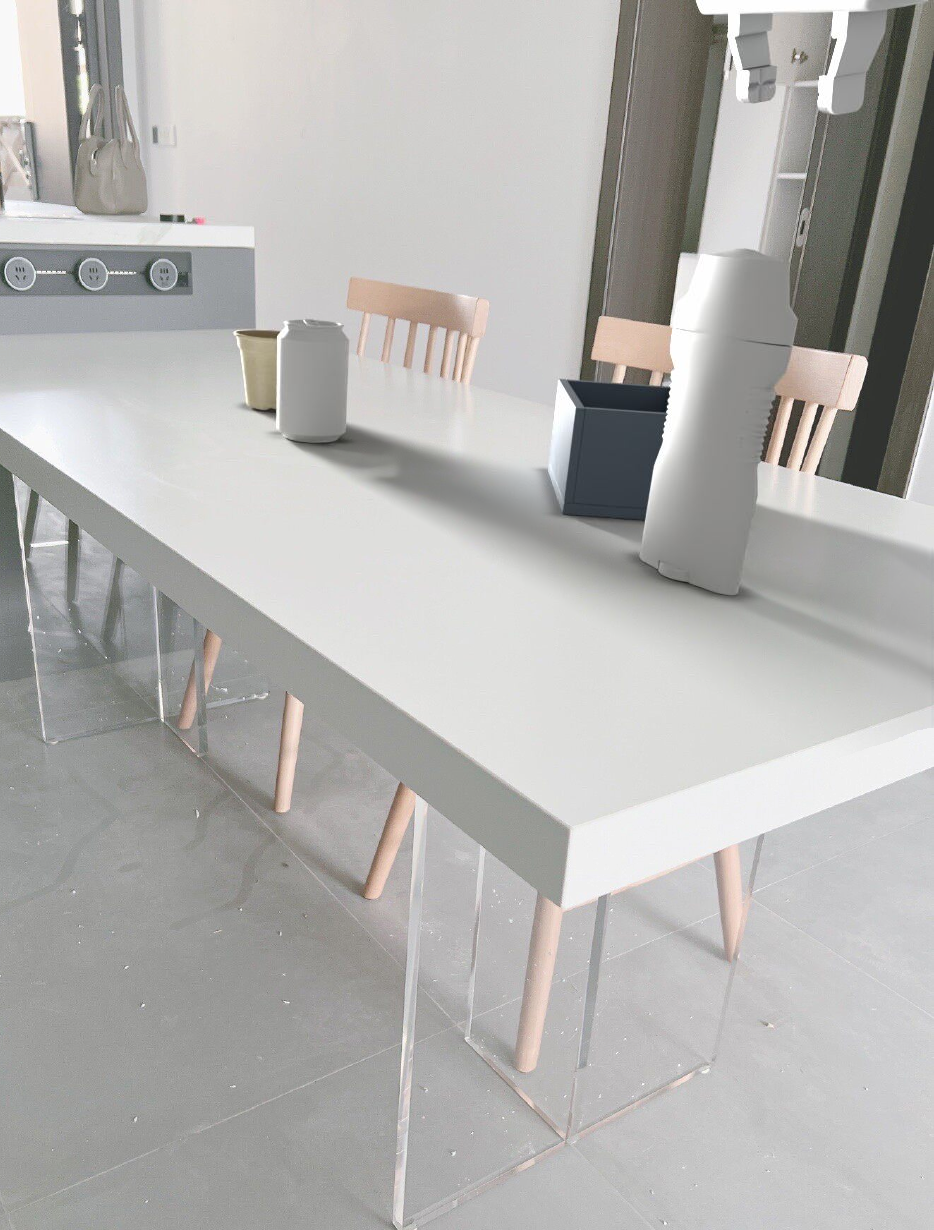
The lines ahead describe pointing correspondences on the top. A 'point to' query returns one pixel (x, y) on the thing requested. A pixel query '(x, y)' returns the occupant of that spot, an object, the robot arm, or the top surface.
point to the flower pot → (259, 366)
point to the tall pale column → (718, 417)
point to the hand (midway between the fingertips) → (794, 106)
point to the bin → (606, 446)
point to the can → (312, 380)
